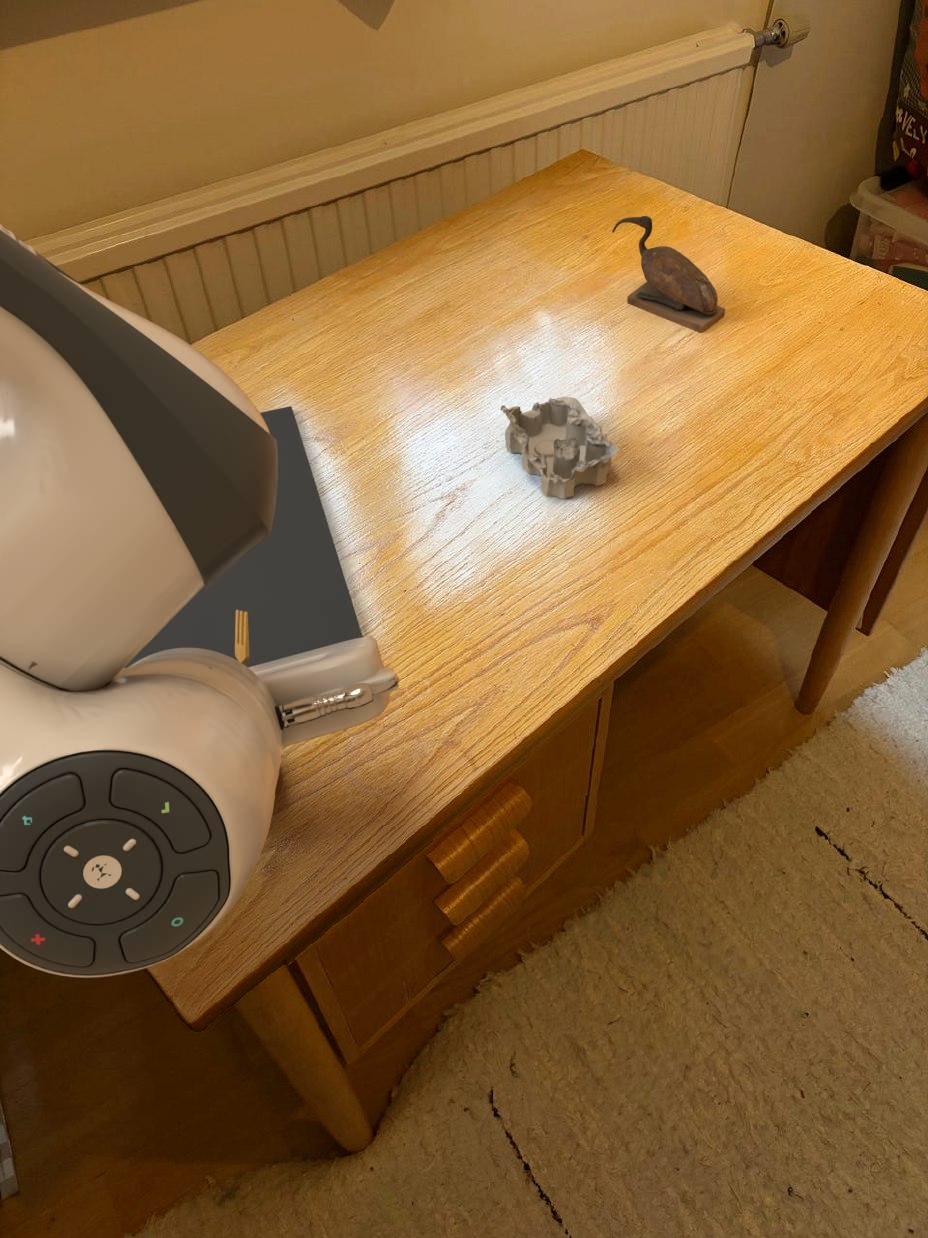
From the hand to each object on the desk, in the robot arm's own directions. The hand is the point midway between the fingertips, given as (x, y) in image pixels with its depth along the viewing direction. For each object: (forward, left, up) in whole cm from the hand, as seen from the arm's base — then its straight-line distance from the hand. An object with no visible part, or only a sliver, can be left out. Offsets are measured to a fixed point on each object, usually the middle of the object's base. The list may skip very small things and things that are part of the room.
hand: (216, 696), depth 54 cm
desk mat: (0, +22, -9) cm, 24 cm away
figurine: (+52, +45, -10) cm, 70 cm away
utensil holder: (-1, -3, -8) cm, 8 cm away
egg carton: (+32, +24, -10) cm, 41 cm away
